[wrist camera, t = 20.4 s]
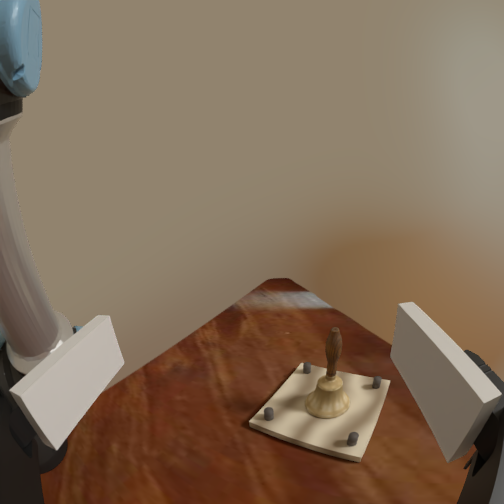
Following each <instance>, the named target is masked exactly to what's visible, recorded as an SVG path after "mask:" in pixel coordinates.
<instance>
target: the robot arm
mask: <svg viewBox="0 0 504 504" xmlns="http://www.w3.org/2000/svg"><path fill="white" fill-rule="evenodd" d="M41 62H42V22H41V11H40V4H39V0H0V504H44V499H43V493H42V486H41V478H40V474H42V473H46V472H48V471H50V470H52V469H54V468H55V467H56V466H57V465H58V464H59V463H60V462H61V461H62V460H63V458H64V456H65V454H66V451H67V437H68V435H69V434H70V433H71V431H72V430H73V429H74V427H75V426H76V425H77V423H78V422H79V421H80V419H81V418H82V417H83V415H84V414H85V413H86V411H87V410H88V409H89V408H90V406H91V405H92V404H93V402H94V401H95V400H96V399H97V397H98V396H99V395H100V393H101V392H102V391H103V390H104V388H105V387H106V386H107V384H108V383H109V382H110V380H111V379H112V378H113V377H114V375H115V374H116V373H117V372H118V370H119V369H120V368H121V367H122V365H123V364H124V360H123V358H122V354H121V352H120V348H119V346H118V342H117V339H116V336H115V333H114V329H113V326H112V322H111V319H110V316H104V315H97V316H96V317H95V318H94V319H92V320H91V321H90V322H89V323H87V324H86V325H85V326H84V327H81V326H80V327H78V326H74V327H73V328H72V326H71V324H70V322H69V320H68V319H67V318H66V317H65V316H64V315H63V314H62V313H60V312H58V311H55V310H53V308H52V305H51V303H50V301H49V298H48V296H47V294H46V291H45V289H44V286H43V283H42V281H41V278H40V275H39V273H38V270H37V267H36V264H35V261H34V258H33V255H32V252H31V249H30V245H29V242H28V239H27V235H26V231H25V228H24V224H23V220H22V215H21V211H20V206H19V202H18V197H17V192H16V186H15V180H14V174H13V167H12V159H11V149H10V135H11V132H12V130H13V128H14V127H15V125H16V124H17V122H18V121H19V119H20V118H21V117H22V99H23V97H26V96H29V95H30V94H31V93H33V92H34V91H35V90H36V88H37V86H38V83H39V79H40V70H41ZM390 357H391V359H392V361H393V362H394V364H395V366H396V367H397V369H398V371H399V372H400V374H401V376H402V378H403V379H404V381H405V383H406V384H407V386H408V388H409V390H410V392H411V393H412V395H413V397H414V399H415V400H416V402H417V404H418V406H419V408H420V410H421V411H422V413H423V415H424V417H425V419H426V421H427V423H428V425H429V427H430V428H431V430H432V432H433V434H434V436H435V438H436V440H437V442H438V444H439V446H440V448H441V450H442V452H443V454H444V456H445V459H446V461H447V463H449V462H451V461H453V460H455V459H458V458H460V457H462V456H464V455H466V453H467V452H468V451H469V449H470V448H471V446H472V445H473V443H474V445H475V447H476V449H477V450H476V452H475V453H474V454H473V456H472V457H471V458H470V460H469V461H468V462H467V464H466V465H465V467H464V469H467V467H468V466H469V465H470V464H471V465H470V469H469V472H468V475H467V478H466V481H465V484H464V486H463V489H462V492H461V495H460V497H459V500H458V502H457V504H504V382H503V381H502V380H501V379H500V378H499V377H498V376H497V375H496V374H495V373H494V372H493V371H491V368H490V367H489V366H488V365H485V362H484V361H483V360H482V359H481V358H480V357H479V356H478V355H476V354H475V353H472V352H471V351H469V350H465V351H463V350H462V349H461V348H460V347H459V346H458V345H457V344H456V343H455V342H454V341H453V340H452V339H451V338H450V337H449V336H448V335H447V334H446V333H445V332H444V331H443V330H442V329H441V328H440V327H439V326H438V325H437V324H436V323H435V322H434V321H433V320H432V319H430V318H429V316H427V315H426V314H425V313H424V312H423V311H422V310H421V309H420V308H419V307H418V306H417V305H416V304H415V303H414V302H409V303H401V304H398V310H397V317H396V325H395V332H394V338H393V344H392V349H391V355H390Z"/></svg>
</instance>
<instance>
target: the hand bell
mask: <svg viewBox="0 0 504 504" xmlns="http://www.w3.org/2000/svg"><path fill="white" fill-rule="evenodd" d="M341 350H342V339H341V336H340V331H339V328H336V327H334V328H332V329H331V331H330V334H329V336H328V338H327V341H326V357H327V361H328V365H327V371H326V375H324V376H322V377H320V378H319V379H318V381H317V385H316V388H315V390H314V391H312V392H311V393H310V394H309V395H308V396H307V398H306V400H305V407H306V410H307V411H308V412H309V413H310V414H312V415H313V416H316V417H319V418H324V419H330V418H335V417H338V416H341V415H342V414H344V413H345V412H346V411H347V410H348V409H349V407H350V399H349V397H348V395H347V394H346V393H345V392H344V391H343V381H342V379H341V378H340V377H339V376H336V369H337V361H338V359H339V357H340V354H341Z"/></svg>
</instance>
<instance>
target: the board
mask: <svg viewBox="0 0 504 504" xmlns="http://www.w3.org/2000/svg"><path fill="white" fill-rule="evenodd" d="M326 371H327V369H326V368H321V367H317V366H313V365H311V363H309V362H305V363H301V364H300V365H299V366H298V368H297V369H296V370H295V371H294V372H293V374H292V375H291V376H290V377H289V378H288V379H287V381H286V382H285V383H284V384H283V385H282V386H281V387H280V389H279V390H278V391H277V392H276V393H275V394H274V395H273V396H272V398H271V399H270V400H269V401H268V402H267V403H266V404H265V405H264V406H263V407H262V408H261V409H260V410H259V412H258V413H257V414H256V415H255V416H254V417H253V418H252V419H251V420H250V421H249V426H250V427H251V428H254V429H256V430H259V431H261V432H264V433H266V434H269V435H271V436H274V437H276V438H279V439H282V440H284V441H287V442H290V443H293V444H296V445H299V446H302V447H305V448H308V449H311V450H314V451H318V452H321V453H324V454H328V455H331V456H335V457H339V458H343V459H347V460H351V461H355V462H360V461H361V458H362V456H363V454H364V452H365V449H366V447H367V445H368V442H369V440H370V438H371V435H372V433H373V430H374V428H375V425H376V422H377V420H378V417H379V414H380V411H381V409H382V406H383V403H384V400H385V397H386V394H387V391H388V387H389V384H390V380H383V379H382V378H381V377H379V376H376V377H374V378H371V377H366V376H360V375H355V374H350V373H345V372H340V371H336V376H339V377H340V378H341V379H342V381H343V391H344V392H345V393H346V394H347V395H348V397H349V399H350V407H349V409H348V410H347V411H346V412H345V413H344V414H342V415H341V416H338V417H335V418H330V419H324V418H319V417H316V416H313V415H312V414H310V413H309V412H308V411H307V410H306V407H305V400H306V398H307V396H308V395H309V394H310V393H311V392H312V391H314V390H315V388H316V385H317V381H318V379H319V378H320V377H322V376H324V375H326Z"/></svg>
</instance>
